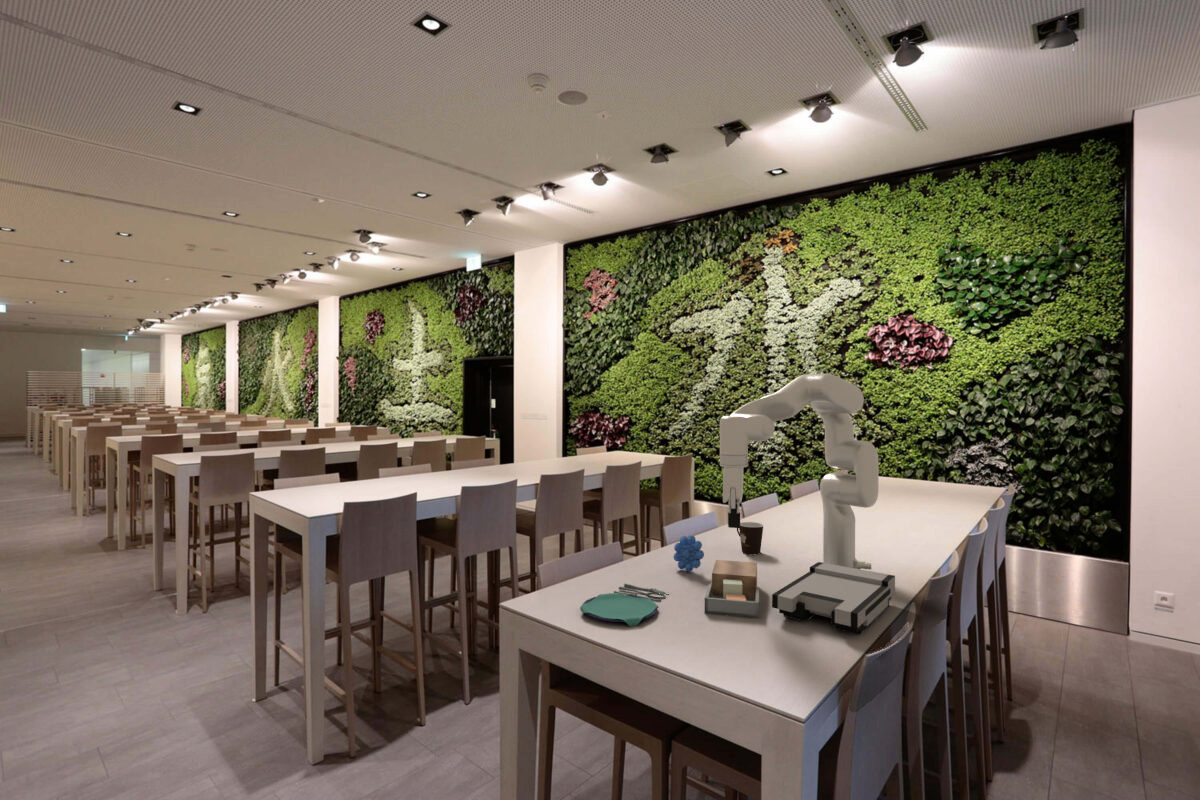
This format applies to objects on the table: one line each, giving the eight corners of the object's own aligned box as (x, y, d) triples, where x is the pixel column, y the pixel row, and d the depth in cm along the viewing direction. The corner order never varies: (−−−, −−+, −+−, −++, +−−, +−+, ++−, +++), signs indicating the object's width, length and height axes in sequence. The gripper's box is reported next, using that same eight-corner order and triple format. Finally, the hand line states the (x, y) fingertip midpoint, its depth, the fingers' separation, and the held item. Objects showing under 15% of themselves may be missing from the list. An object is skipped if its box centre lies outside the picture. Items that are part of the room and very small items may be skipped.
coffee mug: (766, 555, 214) (766, 527, 213) (741, 555, 214) (741, 527, 214) (758, 547, 225) (758, 520, 225) (734, 547, 225) (734, 520, 225)
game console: (772, 621, 153) (772, 589, 153) (818, 589, 178) (818, 561, 178) (857, 643, 140) (857, 608, 140) (894, 605, 164) (895, 575, 164)
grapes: (711, 572, 194) (711, 535, 193) (698, 577, 189) (698, 538, 189) (682, 565, 202) (682, 529, 202) (669, 569, 197) (669, 532, 197)
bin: (759, 602, 166) (759, 587, 166) (758, 618, 154) (758, 602, 154) (709, 597, 170) (709, 583, 170) (704, 613, 158) (704, 598, 158)
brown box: (757, 586, 180) (757, 562, 180) (756, 601, 167) (756, 576, 166) (716, 582, 183) (716, 559, 183) (711, 598, 170) (711, 573, 170)
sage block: (741, 580, 167) (742, 584, 163) (741, 598, 167) (742, 603, 163) (723, 579, 168) (723, 583, 164) (723, 597, 168) (723, 602, 164)
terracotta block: (746, 601, 158) (746, 610, 158) (744, 594, 163) (744, 604, 163) (726, 600, 158) (726, 609, 158) (725, 593, 163) (725, 603, 163)
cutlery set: (567, 618, 155) (567, 609, 155) (620, 587, 182) (620, 579, 182) (637, 634, 146) (637, 624, 146) (682, 598, 172) (682, 590, 172)
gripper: (721, 457, 175) (722, 520, 175) (717, 463, 160) (718, 532, 161) (748, 457, 173) (749, 522, 173) (746, 464, 158) (747, 534, 159)
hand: (734, 527), depth 167 cm, fingers closed
